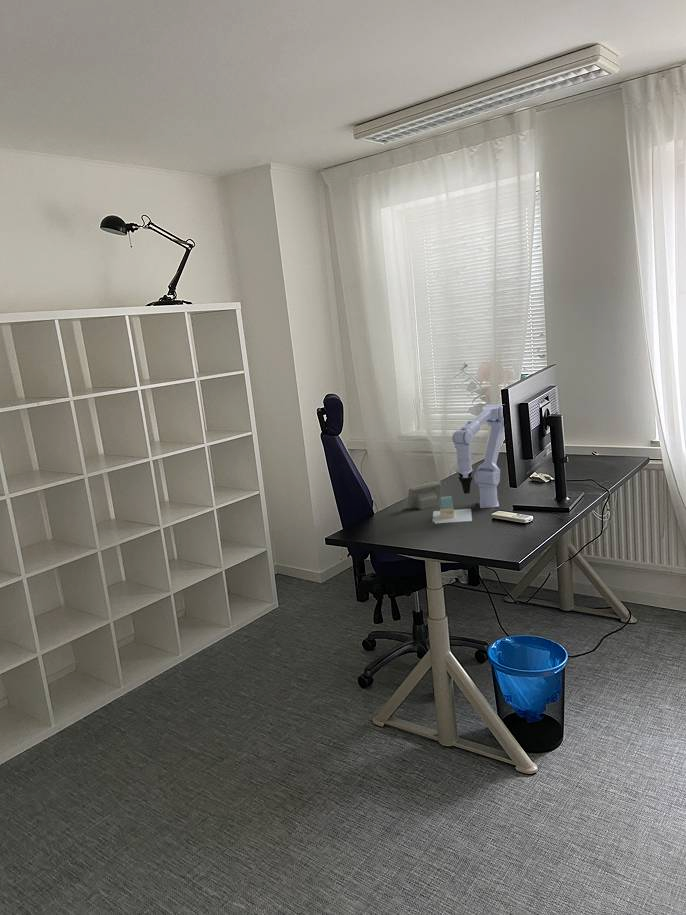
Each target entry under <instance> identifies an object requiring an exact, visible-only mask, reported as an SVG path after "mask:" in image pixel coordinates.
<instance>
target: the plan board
mask: <svg viewBox="0 0 686 915" xmlns="http://www.w3.org/2000/svg"><path fill="white" fill-rule="evenodd" d="M453 510H454V518H442V519H441V518H440V510H433V512H432V522H433V521H434V522H435V524H444V523H445V524H449V523H461V522H472V521H473V518H472V509H471V508H461V509H459V508H458V509H453ZM433 517H434V518H435V519H434V518H433Z"/></svg>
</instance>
